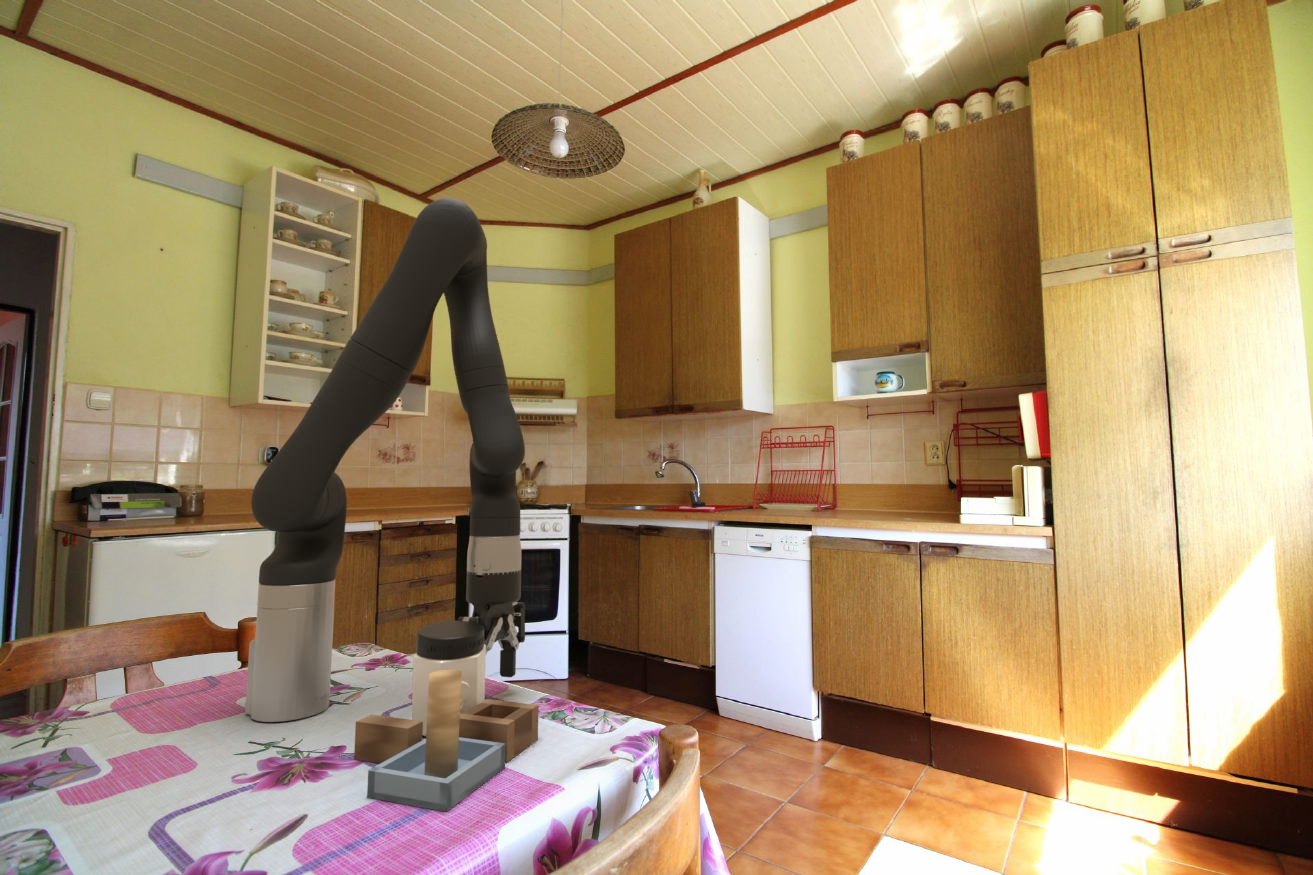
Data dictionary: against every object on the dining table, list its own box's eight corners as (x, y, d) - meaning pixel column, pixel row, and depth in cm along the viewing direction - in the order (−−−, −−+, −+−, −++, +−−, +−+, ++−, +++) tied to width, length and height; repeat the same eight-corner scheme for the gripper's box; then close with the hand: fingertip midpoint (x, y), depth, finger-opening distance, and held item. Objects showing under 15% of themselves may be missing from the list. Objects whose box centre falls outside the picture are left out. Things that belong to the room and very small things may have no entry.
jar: (419, 746, 73) (422, 643, 74) (404, 720, 80) (406, 625, 80) (494, 729, 78) (496, 631, 78) (474, 705, 85) (476, 616, 85)
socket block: (451, 754, 71) (453, 717, 71) (486, 732, 78) (487, 699, 78) (506, 762, 69) (507, 724, 69) (537, 739, 75) (538, 704, 76)
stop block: (354, 758, 70) (355, 721, 70) (370, 750, 72) (371, 714, 72) (406, 767, 68) (408, 728, 68) (421, 758, 70) (422, 721, 70)
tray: (367, 797, 61) (368, 770, 61) (433, 756, 70) (434, 733, 70) (446, 811, 58) (447, 783, 58) (504, 767, 67) (505, 743, 68)
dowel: (417, 779, 63) (422, 675, 64) (438, 766, 66) (442, 668, 67) (443, 783, 62) (448, 678, 63) (463, 771, 65) (467, 671, 66)
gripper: (497, 561, 98) (495, 669, 96) (441, 572, 84) (437, 697, 83) (541, 563, 96) (539, 673, 94) (490, 574, 82) (487, 703, 81)
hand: (491, 684), depth 89 cm, fingers open, 8 cm apart
